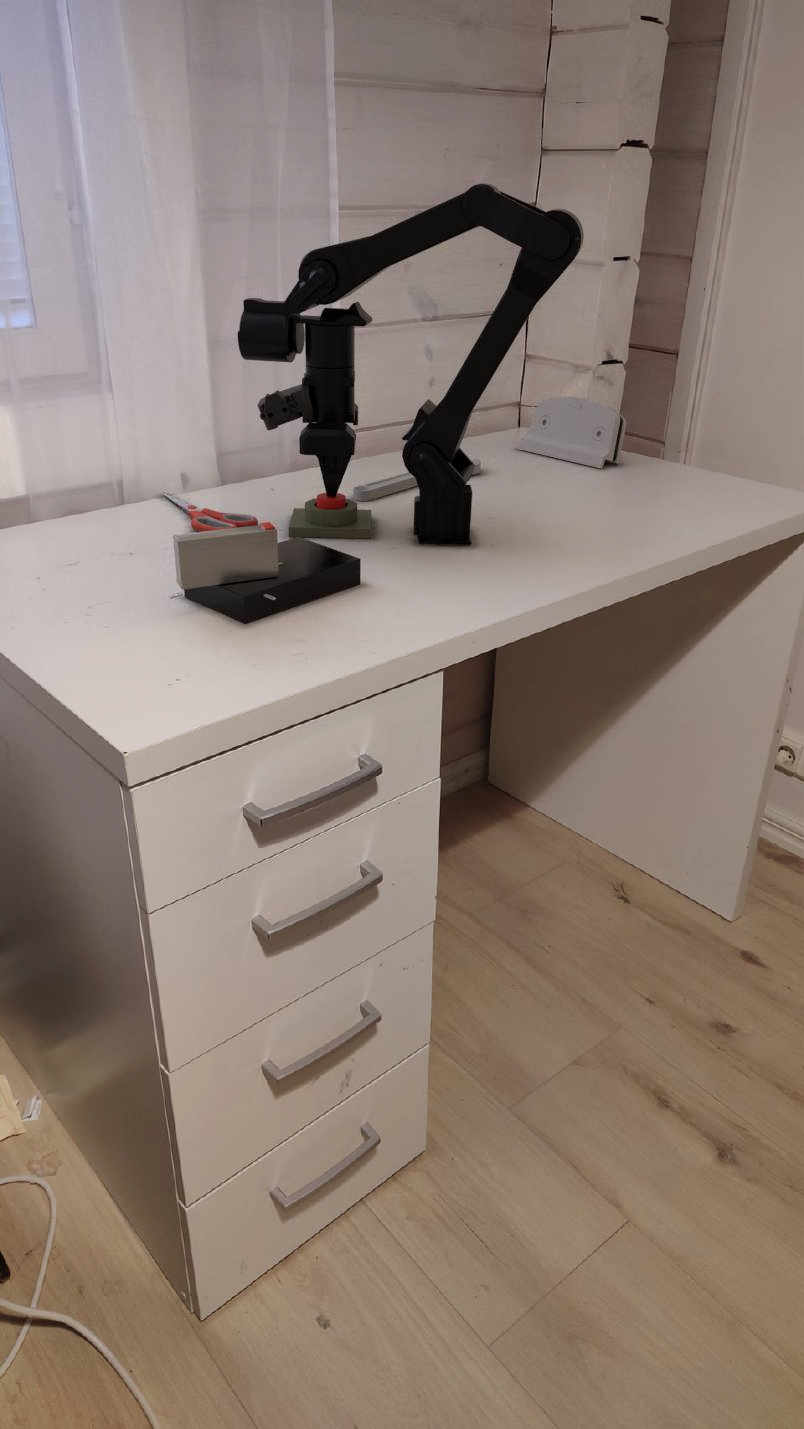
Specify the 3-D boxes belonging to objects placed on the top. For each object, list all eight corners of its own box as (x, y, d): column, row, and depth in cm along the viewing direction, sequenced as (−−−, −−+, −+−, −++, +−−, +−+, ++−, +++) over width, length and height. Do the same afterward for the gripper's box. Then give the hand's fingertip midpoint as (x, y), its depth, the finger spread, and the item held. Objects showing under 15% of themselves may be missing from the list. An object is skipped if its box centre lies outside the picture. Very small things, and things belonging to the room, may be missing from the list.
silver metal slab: (181, 590, 99) (177, 538, 96) (176, 583, 100) (172, 532, 98) (278, 576, 103) (277, 527, 100) (272, 570, 104) (270, 521, 102)
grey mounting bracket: (516, 448, 165) (534, 387, 163) (532, 454, 169) (549, 393, 167) (602, 468, 155) (622, 403, 153) (617, 474, 159) (636, 410, 157)
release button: (346, 506, 127) (346, 492, 127) (345, 514, 124) (345, 500, 123) (317, 505, 127) (317, 492, 127) (315, 514, 124) (315, 500, 123)
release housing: (371, 518, 131) (371, 496, 129) (370, 538, 124) (370, 514, 122) (294, 517, 130) (293, 494, 129) (288, 536, 123) (288, 513, 122)
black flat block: (130, 606, 103) (127, 577, 101) (290, 558, 116) (290, 532, 115) (217, 649, 94) (215, 617, 93) (378, 591, 108) (378, 563, 107)
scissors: (166, 494, 138) (165, 484, 137) (269, 529, 126) (268, 518, 125) (118, 505, 133) (117, 495, 132) (220, 543, 121) (220, 531, 120)
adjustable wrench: (362, 503, 137) (362, 490, 136) (332, 493, 141) (331, 480, 140) (487, 472, 152) (487, 460, 151) (456, 464, 156) (456, 452, 155)
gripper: (269, 350, 126) (273, 475, 133) (251, 377, 109) (257, 517, 117) (358, 352, 126) (358, 476, 133) (354, 380, 109) (354, 519, 117)
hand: (331, 496), depth 125 cm, fingers closed, pressing on release button
